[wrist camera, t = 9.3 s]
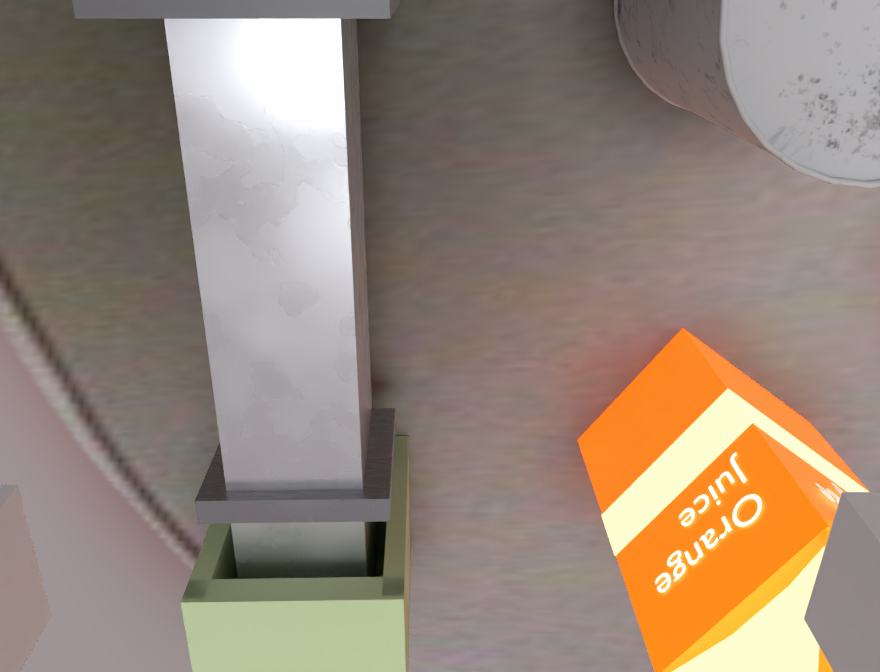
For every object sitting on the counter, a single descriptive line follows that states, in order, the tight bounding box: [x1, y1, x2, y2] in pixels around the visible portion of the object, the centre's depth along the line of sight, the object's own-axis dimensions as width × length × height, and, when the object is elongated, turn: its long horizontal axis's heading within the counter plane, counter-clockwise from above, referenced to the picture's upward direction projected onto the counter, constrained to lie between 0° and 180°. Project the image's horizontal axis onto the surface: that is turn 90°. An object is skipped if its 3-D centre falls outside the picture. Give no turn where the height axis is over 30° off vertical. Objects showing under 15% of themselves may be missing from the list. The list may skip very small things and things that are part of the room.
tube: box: [164, 19, 395, 579], centre depth 30 cm, size 25×7×7 cm, turn 0°
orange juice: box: [578, 328, 869, 672], centre depth 30 cm, size 8×9×20 cm
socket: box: [181, 436, 411, 672], centre depth 35 cm, size 7×8×11 cm
